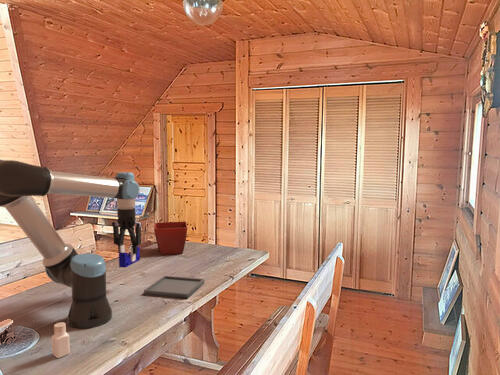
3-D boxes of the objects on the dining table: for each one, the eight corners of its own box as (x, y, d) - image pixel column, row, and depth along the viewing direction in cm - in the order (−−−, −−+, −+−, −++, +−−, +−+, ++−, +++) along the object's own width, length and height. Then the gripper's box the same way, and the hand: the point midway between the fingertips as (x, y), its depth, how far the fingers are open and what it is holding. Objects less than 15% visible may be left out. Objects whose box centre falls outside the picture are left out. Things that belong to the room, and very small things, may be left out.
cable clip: (130, 259, 180) (130, 246, 180) (139, 259, 179) (139, 246, 179) (116, 266, 169) (115, 253, 168) (125, 267, 168) (125, 253, 167)
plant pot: (154, 257, 229) (153, 228, 228) (155, 249, 248) (154, 222, 246) (187, 255, 233) (187, 227, 231) (186, 247, 252) (186, 221, 250)
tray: (187, 298, 165) (187, 294, 165) (144, 294, 170) (144, 290, 170) (204, 283, 185) (204, 279, 185) (164, 279, 189) (164, 275, 189)
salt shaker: (57, 359, 118) (55, 328, 117) (51, 354, 121) (50, 324, 120) (70, 354, 121) (69, 324, 120) (65, 349, 124) (63, 320, 123)
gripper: (149, 207, 173) (150, 259, 175) (113, 206, 177) (114, 257, 180) (140, 209, 166) (141, 264, 168) (103, 208, 170) (105, 261, 172)
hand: (127, 260), depth 174 cm, fingers closed on cable clip, 4 cm apart
